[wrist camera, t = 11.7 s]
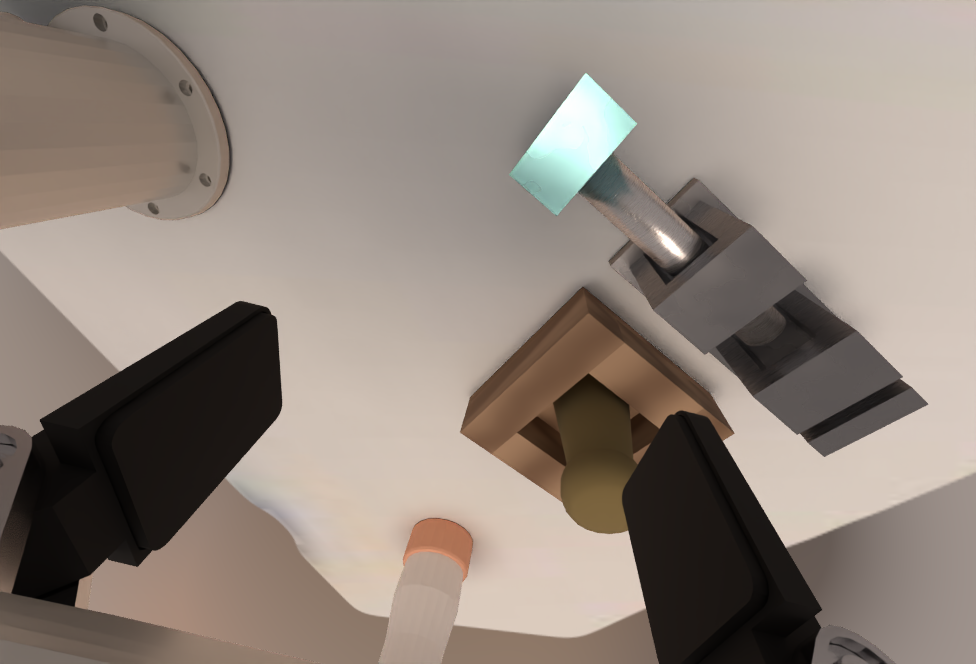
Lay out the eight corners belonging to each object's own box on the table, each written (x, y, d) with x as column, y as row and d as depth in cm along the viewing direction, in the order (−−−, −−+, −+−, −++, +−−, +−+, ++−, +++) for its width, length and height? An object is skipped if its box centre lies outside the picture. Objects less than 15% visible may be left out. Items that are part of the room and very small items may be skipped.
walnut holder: (470, 397, 34) (459, 432, 30) (582, 286, 28) (588, 312, 24) (584, 478, 37) (588, 520, 33) (710, 394, 31) (734, 433, 27)
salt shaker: (429, 509, 42) (351, 757, 26) (484, 537, 43) (444, 794, 27) (402, 539, 46) (318, 776, 29) (454, 565, 47) (402, 808, 30)
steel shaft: (516, 165, 22) (509, 174, 18) (577, 84, 20) (586, 72, 16) (710, 336, 26) (743, 379, 21) (781, 283, 23) (834, 319, 19)
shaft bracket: (608, 261, 27) (629, 307, 20) (693, 178, 24) (752, 198, 17) (755, 389, 30) (816, 467, 23) (847, 331, 27) (950, 401, 20)
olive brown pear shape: (625, 360, 29) (664, 476, 19) (630, 421, 32) (666, 549, 22) (546, 369, 30) (545, 481, 21) (557, 427, 33) (561, 550, 23)
